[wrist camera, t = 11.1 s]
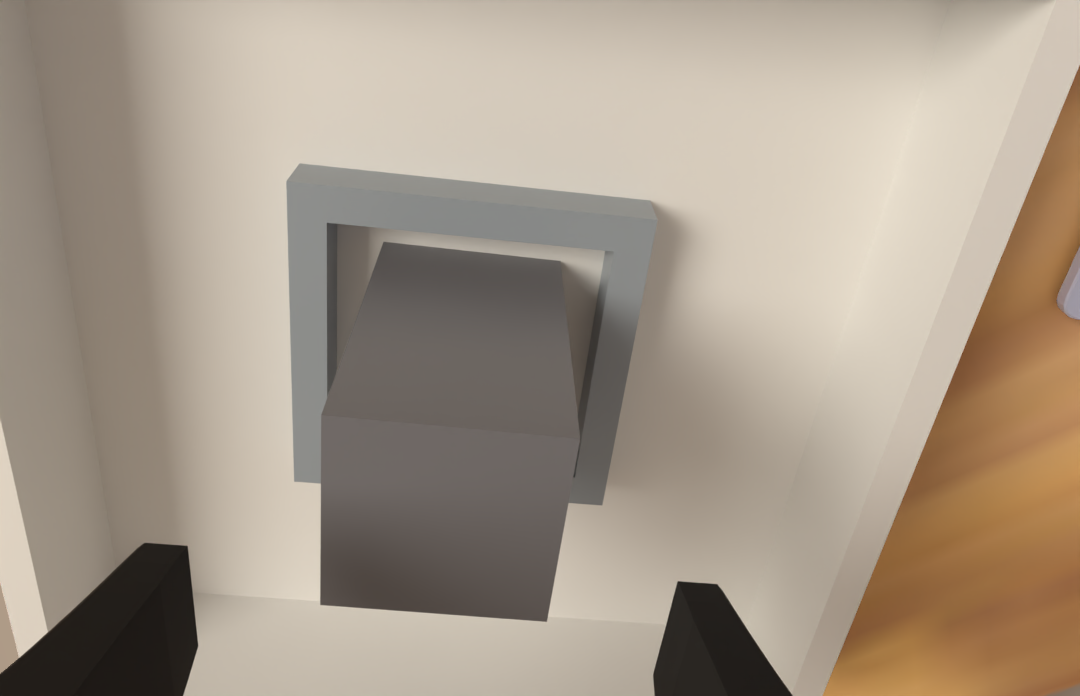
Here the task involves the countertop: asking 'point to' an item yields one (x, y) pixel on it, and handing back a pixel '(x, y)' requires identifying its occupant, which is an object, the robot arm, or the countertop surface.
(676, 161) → the box
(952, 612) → the countertop surface
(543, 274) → the grey rectangular block
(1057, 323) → the countertop surface
